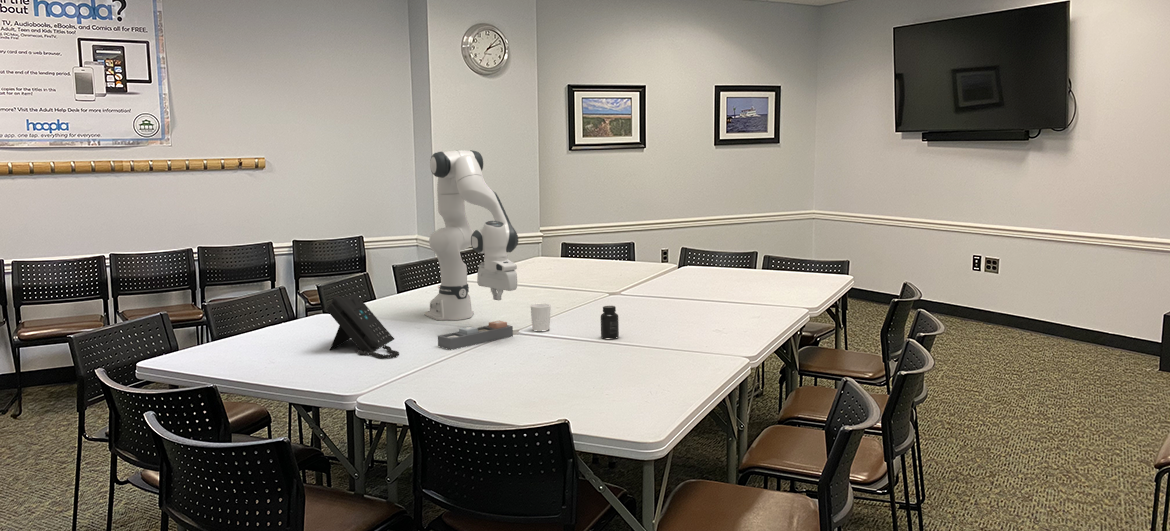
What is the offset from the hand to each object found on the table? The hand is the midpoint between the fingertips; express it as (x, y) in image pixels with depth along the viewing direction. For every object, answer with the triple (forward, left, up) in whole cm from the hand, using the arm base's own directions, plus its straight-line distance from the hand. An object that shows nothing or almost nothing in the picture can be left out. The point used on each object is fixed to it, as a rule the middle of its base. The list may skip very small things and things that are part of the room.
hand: (497, 299), depth 321 cm
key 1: (0, -21, -14) cm, 25 cm away
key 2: (0, -14, -11) cm, 18 cm away
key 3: (0, -7, -14) cm, 15 cm away
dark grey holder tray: (0, -11, -14) cm, 18 cm away
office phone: (-20, -43, -15) cm, 50 cm away
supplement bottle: (+33, +27, -15) cm, 45 cm away
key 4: (0, 0, -11) cm, 11 cm away
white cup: (+4, +18, -15) cm, 24 cm away
